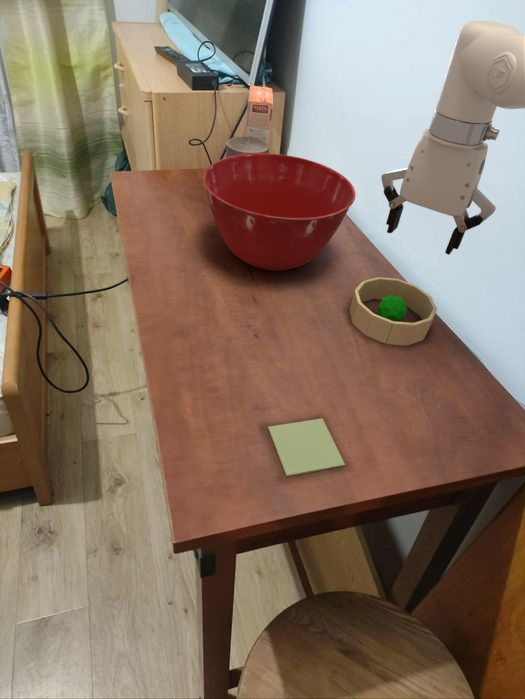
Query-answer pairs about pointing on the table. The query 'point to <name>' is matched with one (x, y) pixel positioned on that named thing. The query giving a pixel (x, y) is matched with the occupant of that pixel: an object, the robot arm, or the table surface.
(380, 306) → the polyhedron
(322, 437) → the mat
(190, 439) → the table surface
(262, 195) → the mixing bowl
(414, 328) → the hollow cylinder
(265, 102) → the cracker box
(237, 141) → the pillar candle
